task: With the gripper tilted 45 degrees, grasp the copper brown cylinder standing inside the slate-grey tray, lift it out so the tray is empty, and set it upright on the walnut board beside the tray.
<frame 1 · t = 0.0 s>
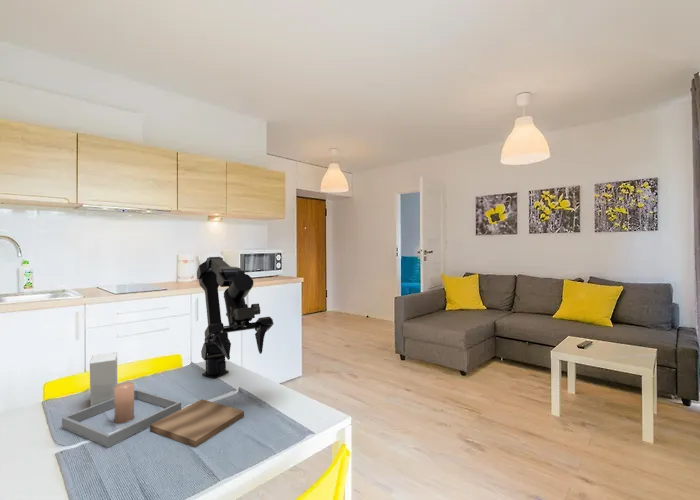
hand: (245, 356, 100), 15 cm above the table, tool tilted 35°, fingers open, 9 cm apart
tray: (124, 418, 94), on the table
small box: (104, 401, 104), on the table
board: (199, 423, 92), on the table
copper brown cylinder: (124, 419, 94), resting in tray
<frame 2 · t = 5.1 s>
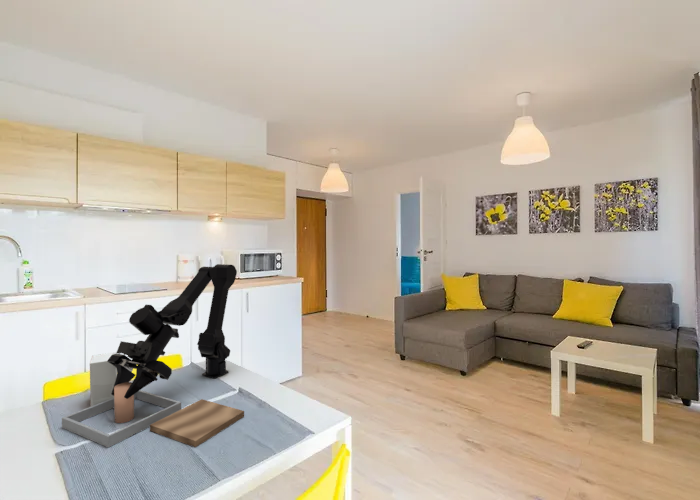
hand: (119, 396, 92), 7 cm above the table, tool tilted 45°, fingers closed on copper brown cylinder, 4 cm apart
copper brown cylinder: (124, 418, 94), resting in tray, touching gripper
everything else where it was.
when the fingers open (9 cm above the table, at t = 9.1 s): copper brown cylinder drops 1 cm, resting on board.
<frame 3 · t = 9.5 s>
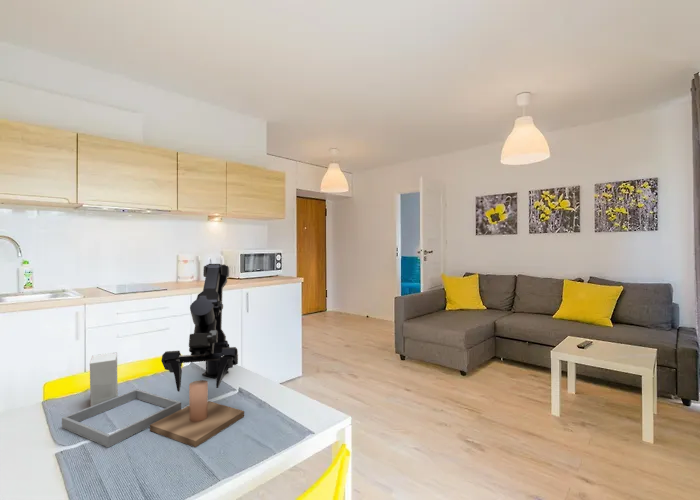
hand: (197, 389, 90), 10 cm above the table, tool tilted 45°, fingers open, 9 cm apart
copper brown cylinder: (198, 417, 92), point 2 cm above the table, touching board
everything else where it was.
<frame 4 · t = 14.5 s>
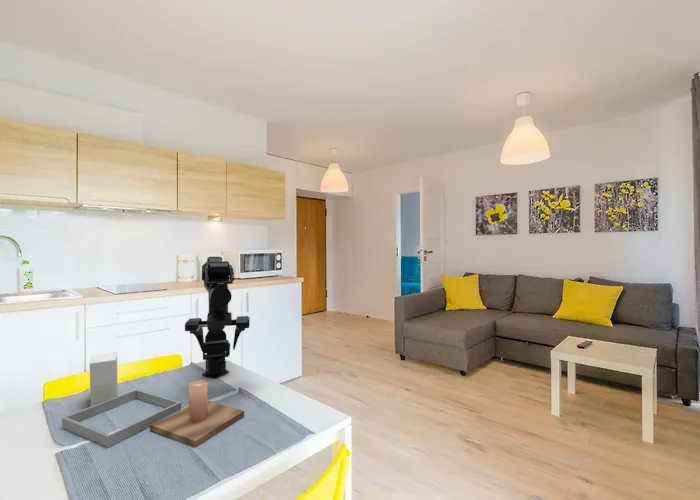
hand: (218, 350, 111), 13 cm above the table, tool pointing down, fingers open, 9 cm apart
nothing on the table moved.
at the end: copper brown cylinder inside the target area on the board (0.1 cm from its centre), point 1.5 cm above the board's base; copper brown cylinder tilted 1°; copper brown cylinder touching board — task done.
